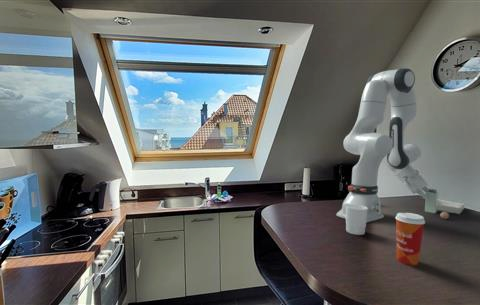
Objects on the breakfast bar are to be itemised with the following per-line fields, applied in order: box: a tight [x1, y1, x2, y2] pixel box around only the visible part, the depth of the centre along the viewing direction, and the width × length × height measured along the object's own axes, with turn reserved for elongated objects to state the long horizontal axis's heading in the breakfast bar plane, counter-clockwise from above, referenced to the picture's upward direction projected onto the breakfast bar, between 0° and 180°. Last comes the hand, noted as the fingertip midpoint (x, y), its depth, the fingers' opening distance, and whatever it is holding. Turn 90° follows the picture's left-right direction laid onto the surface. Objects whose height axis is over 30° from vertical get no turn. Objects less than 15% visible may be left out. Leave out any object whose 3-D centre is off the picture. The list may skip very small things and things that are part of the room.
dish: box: [437, 199, 465, 215], centre depth 143 cm, size 14×12×3 cm
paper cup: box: [395, 212, 426, 266], centre depth 82 cm, size 8×8×14 cm
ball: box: [440, 211, 450, 220], centre depth 126 cm, size 3×3×3 cm
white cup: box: [345, 204, 368, 236], centre depth 106 cm, size 8×8×10 cm
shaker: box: [424, 188, 440, 214], centre depth 137 cm, size 4×4×11 cm
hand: (428, 196), depth 138 cm, fingers open, 8 cm apart
